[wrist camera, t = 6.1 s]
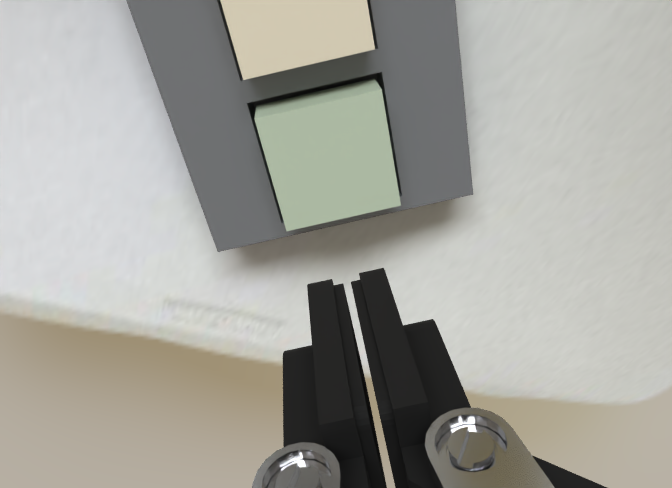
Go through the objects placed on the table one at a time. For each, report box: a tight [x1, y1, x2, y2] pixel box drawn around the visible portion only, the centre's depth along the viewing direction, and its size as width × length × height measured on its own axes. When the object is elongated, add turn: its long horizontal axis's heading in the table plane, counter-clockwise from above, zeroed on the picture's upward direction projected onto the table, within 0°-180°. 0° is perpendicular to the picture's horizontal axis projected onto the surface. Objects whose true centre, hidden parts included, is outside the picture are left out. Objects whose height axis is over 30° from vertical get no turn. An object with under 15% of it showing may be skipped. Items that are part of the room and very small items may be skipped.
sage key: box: [254, 78, 401, 231], centre depth 23 cm, size 5×5×2 cm
